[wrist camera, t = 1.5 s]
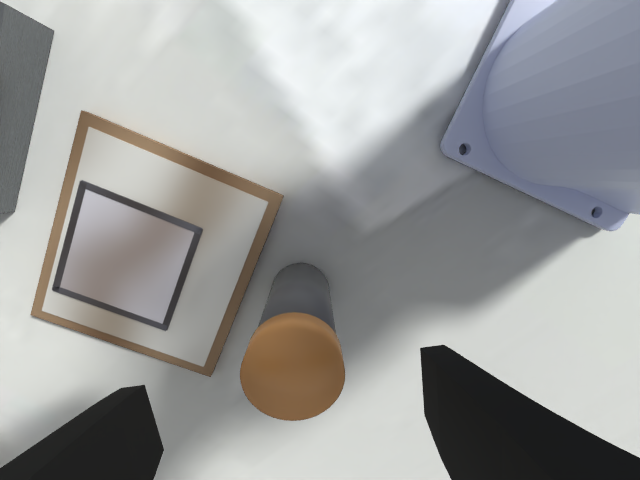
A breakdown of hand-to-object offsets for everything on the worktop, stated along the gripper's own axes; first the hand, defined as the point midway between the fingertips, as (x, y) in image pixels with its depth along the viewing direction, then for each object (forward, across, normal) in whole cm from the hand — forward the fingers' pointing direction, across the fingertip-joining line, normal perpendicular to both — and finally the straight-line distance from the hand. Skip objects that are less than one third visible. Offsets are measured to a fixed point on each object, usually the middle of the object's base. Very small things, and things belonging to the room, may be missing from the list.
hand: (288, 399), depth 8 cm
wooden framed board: (+7, +6, -3) cm, 10 cm away
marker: (+7, 0, 0) cm, 7 cm away
